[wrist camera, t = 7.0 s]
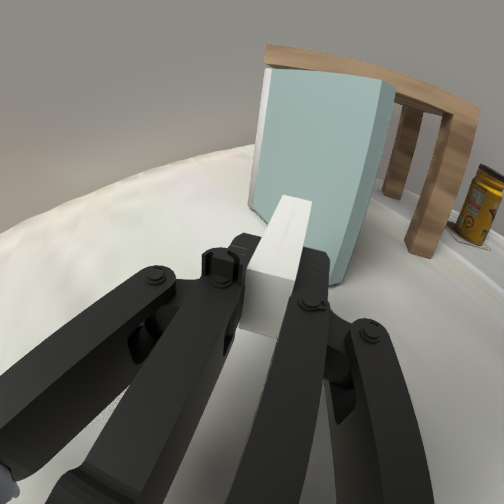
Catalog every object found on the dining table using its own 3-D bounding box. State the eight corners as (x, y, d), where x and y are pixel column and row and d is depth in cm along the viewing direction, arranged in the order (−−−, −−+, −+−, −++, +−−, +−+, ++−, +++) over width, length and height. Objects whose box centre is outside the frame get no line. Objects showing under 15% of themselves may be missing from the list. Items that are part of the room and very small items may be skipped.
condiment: (490, 251, 33) (517, 184, 26) (457, 242, 33) (485, 167, 26) (470, 229, 39) (492, 168, 32) (437, 219, 39) (459, 152, 33)
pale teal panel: (260, 201, 33) (279, 71, 24) (343, 281, 22) (398, 87, 13) (244, 202, 32) (261, 68, 24) (324, 286, 21) (379, 78, 13)
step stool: (279, 164, 49) (294, 67, 39) (396, 194, 46) (420, 100, 36) (244, 211, 31) (266, 44, 21) (430, 258, 28) (480, 108, 18)
